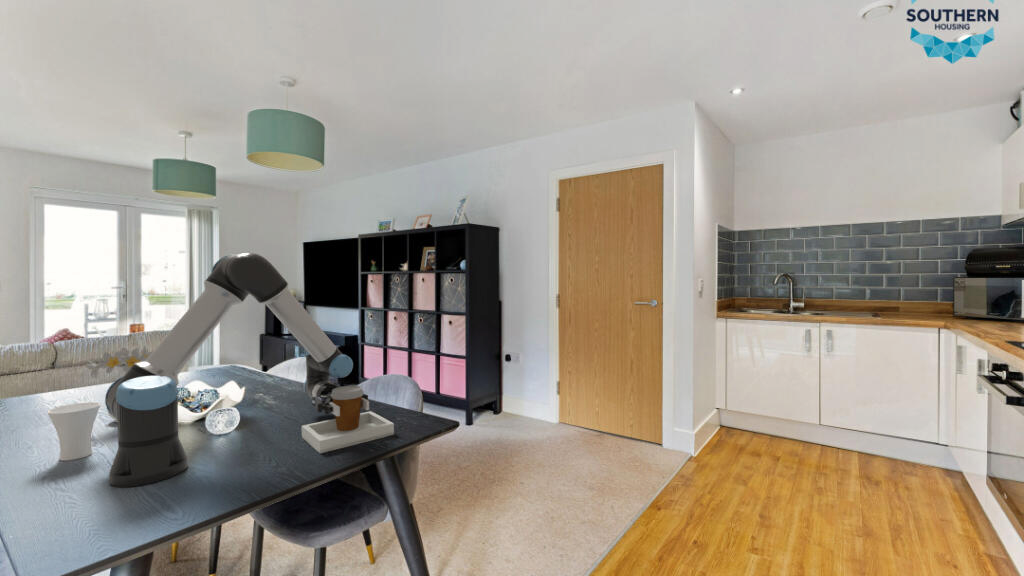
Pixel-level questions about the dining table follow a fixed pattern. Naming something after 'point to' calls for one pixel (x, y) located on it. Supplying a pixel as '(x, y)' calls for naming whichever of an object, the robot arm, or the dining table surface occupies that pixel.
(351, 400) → the disposable coffee cup
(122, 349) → the flower vase
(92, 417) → the cup
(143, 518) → the dining table surface
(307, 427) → the tray
